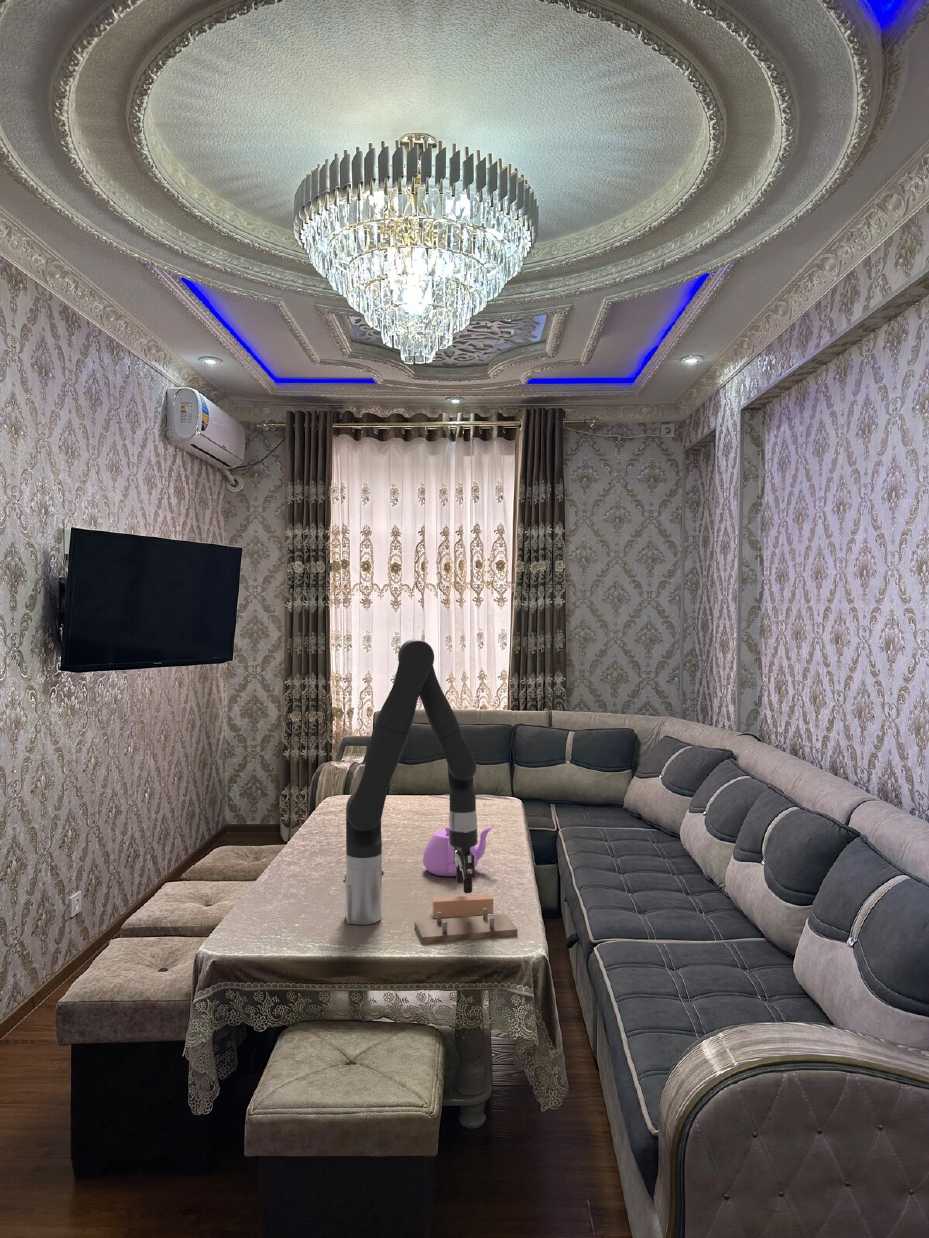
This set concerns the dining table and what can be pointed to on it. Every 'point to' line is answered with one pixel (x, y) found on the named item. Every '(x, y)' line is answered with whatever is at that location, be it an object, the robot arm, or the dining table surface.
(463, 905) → the clay strip
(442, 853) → the teapot
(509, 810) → the dining table surface
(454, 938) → the rack
